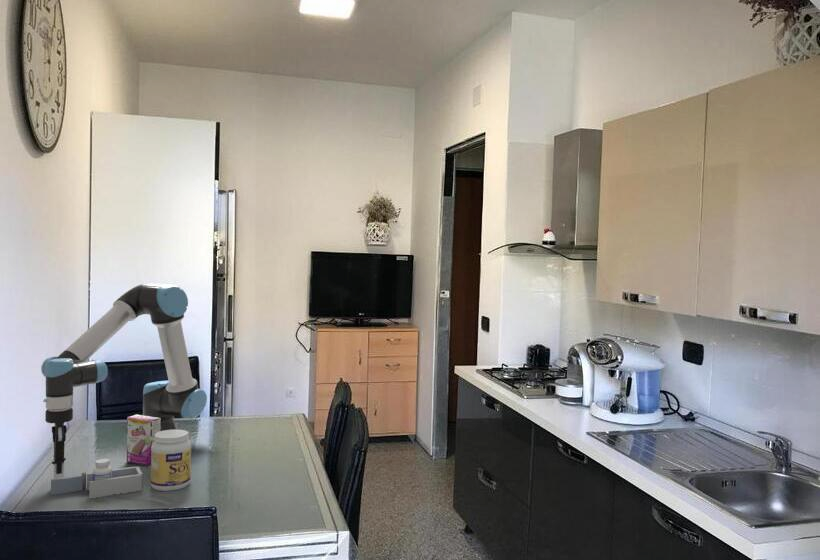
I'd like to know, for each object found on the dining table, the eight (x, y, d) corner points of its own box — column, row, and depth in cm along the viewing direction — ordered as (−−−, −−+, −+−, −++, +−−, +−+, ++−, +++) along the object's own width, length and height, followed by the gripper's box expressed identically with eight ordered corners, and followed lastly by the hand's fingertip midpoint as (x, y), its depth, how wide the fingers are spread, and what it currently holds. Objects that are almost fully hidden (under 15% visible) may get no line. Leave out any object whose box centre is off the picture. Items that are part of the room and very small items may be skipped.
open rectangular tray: (138, 481, 205) (138, 466, 204) (142, 490, 197) (143, 474, 197) (86, 489, 197) (86, 473, 196) (89, 498, 189) (89, 482, 189)
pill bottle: (97, 488, 198) (97, 457, 197) (114, 488, 198) (115, 457, 198) (89, 494, 192) (90, 463, 192) (107, 494, 193) (108, 463, 192)
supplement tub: (166, 495, 193) (167, 441, 193) (142, 486, 200) (142, 434, 199) (198, 483, 204) (199, 432, 203) (174, 476, 210) (175, 426, 210)
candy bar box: (125, 462, 222) (126, 417, 222) (136, 458, 227) (136, 413, 226) (151, 467, 218) (151, 420, 218) (161, 462, 223) (161, 417, 223)
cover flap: (86, 489, 196) (86, 473, 196) (50, 495, 191) (51, 478, 191) (85, 488, 197) (86, 472, 197) (50, 494, 192) (50, 477, 192)
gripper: (44, 405, 200) (44, 478, 201) (46, 414, 189) (45, 491, 190) (71, 403, 204) (70, 474, 205) (74, 411, 193) (73, 487, 194)
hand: (58, 482), depth 197 cm, fingers closed
